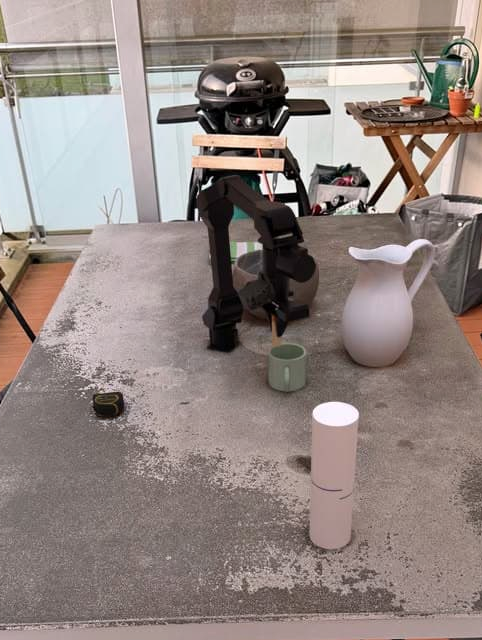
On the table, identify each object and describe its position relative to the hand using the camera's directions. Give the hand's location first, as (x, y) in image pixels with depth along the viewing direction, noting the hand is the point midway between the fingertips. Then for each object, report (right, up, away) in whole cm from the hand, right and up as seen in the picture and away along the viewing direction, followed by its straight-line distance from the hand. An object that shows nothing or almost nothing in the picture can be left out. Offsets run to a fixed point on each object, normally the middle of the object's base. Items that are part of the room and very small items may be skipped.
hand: (276, 334), depth 164 cm
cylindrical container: (+8, -41, -36) cm, 55 cm away
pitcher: (+28, -2, +19) cm, 34 cm away
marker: (0, -2, +1) cm, 2 cm away
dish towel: (-7, +39, +79) cm, 89 cm away
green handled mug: (+3, -11, +7) cm, 13 cm away
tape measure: (-38, -17, 0) cm, 41 cm away
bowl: (+1, +13, +41) cm, 43 cm away
